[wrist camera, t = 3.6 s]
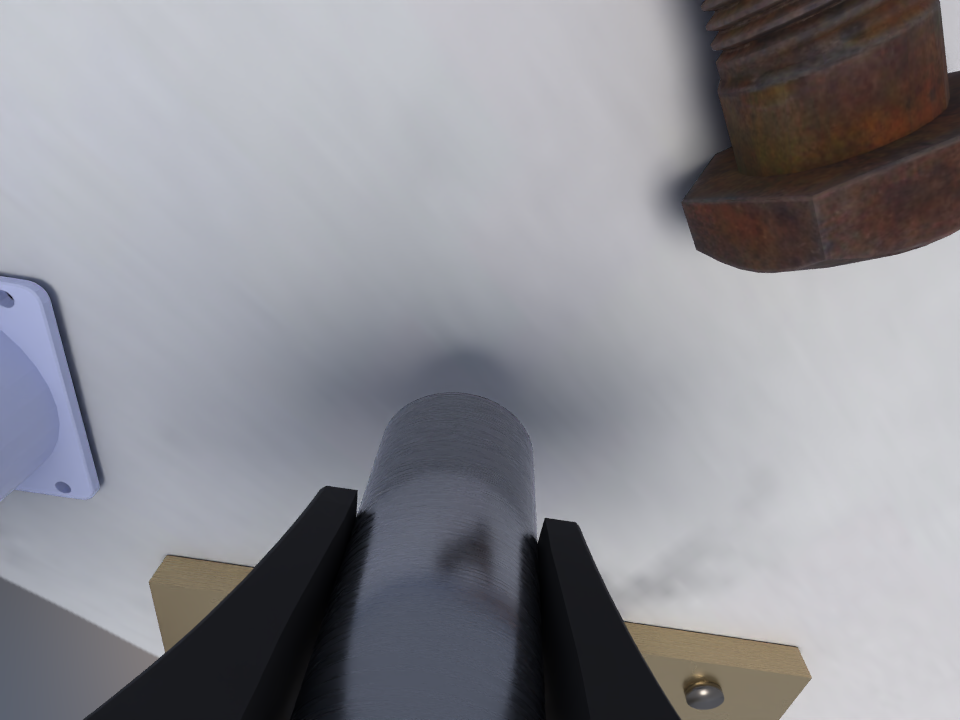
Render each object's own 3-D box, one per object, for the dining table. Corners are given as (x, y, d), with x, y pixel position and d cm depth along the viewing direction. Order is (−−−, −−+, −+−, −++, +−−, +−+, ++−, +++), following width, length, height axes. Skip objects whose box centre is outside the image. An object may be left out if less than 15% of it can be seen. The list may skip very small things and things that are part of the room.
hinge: (191, 674, 25) (138, 776, 22) (166, 555, 21) (98, 656, 18) (722, 750, 26) (755, 860, 22) (797, 647, 22) (851, 762, 18)
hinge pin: (377, 499, 14) (244, 949, 7) (386, 381, 12) (220, 827, 5) (517, 520, 14) (522, 983, 7) (547, 405, 12) (591, 875, 5)
